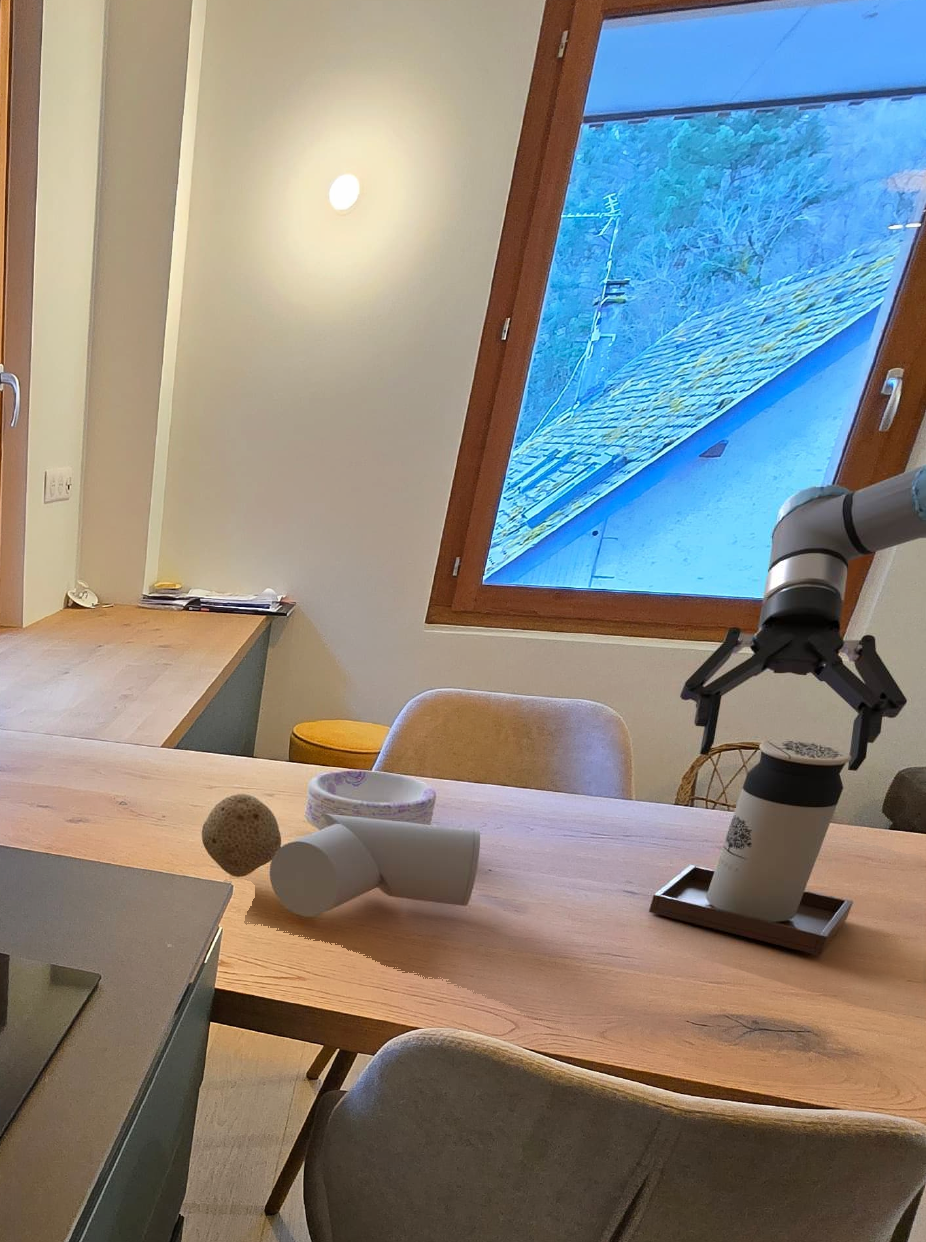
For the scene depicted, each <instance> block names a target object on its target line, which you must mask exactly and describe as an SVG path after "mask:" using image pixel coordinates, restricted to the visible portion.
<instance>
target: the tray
mask: <svg viewBox="0 0 926 1242" xmlns="http://www.w3.org/2000/svg"><path fill="white" fill-rule="evenodd" d="M714 872H715V869H710V868H707V867H702V866H697V865H692V864H690V865H688V866H687V867H686V868H685V869H684V870H682V871H681V872H680V873H678V875H676V876H675V877H674V878H672V879H671V880H669V882H668V883H666V884H665V885H664V886H663V887H661V888H660V889H659V890H658V891H657V892H656V893H654V894H653V896H652V899H651V902H650V906H649V910H648V913H651V914H655V915H658V916H662V917H666V918H671V919H675V920H678V921H682V922H687V923H690V924H694V925H698V926H703V927H706V928H710V929H714V930H717V931H722V932H726V933H730V934H734V935H738V936H741V937H746V938H749V939H753V940H757V941H761V942H765V943H769V944H772V945H777V946H780V947H784V948H789V949H792V950H796V951H800V952H804V953H808V954H812V955H815V956H821V955H822V954H823V952H824V951H825V949H826V948H827V947H828V946H829V944H830V943H831V941H832V940H833V939H834V937H835V936H836V934H838V931H839V930H840V929H841V927H842V926H843V924H844V923H845V922H846V921H847V919H848V917H849V914H850V911H851V909H852V906H853V904H854V901H853V900H851V899H845V898H841V897H837V896H833V895H827V894H824V893H820V892H819V893H818V892H815V891H811V890H805V891H804V893H803V896H802V898H801V901H800V904H799V906H798V909H797V912H796V914H795V917H794V918H792V919H790V920H787V921H779V922H771V921H767V920H763V919H758V918H754V917H750V916H746V915H742V914H738V913H734V912H730V911H726V910H721V909H717V908H715V907H714V906H713V905H711V904H710V903H709V902H708V901H707V899H706V896H707V893H708V890H709V887H710V884H711V881H712V878H713V875H714Z"/></svg>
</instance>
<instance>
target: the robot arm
mask: <svg viewBox="0 0 926 1242" xmlns="http://www.w3.org/2000/svg"><path fill="white" fill-rule="evenodd" d="M770 538H771V550H770V557H769V564H768V569H767V575H766V581H765V585H764V586H765V587H764V591H763V598H762V606H761V610H760V615H759V622H758V628H757V632H756V633H755V634H750V633H743V632H741V628H739V627H737V626H731V627H729V629H728V630H727V633H726V635H725V637H724V639H723V642H722V643H721V644H720V645H719V647H718V648H716V649H715V651H714V652H712V653H711V655H710V656H709V657H708V658H707V659H706V660H705V661H704V662H703V663H702V664H701V666H699V667H698V668H697V669H696V670H695V672H694V673H693V674H692V675H691V676H690V677H688V679H687V680H686V681H685V682H684V685H683V687H682V689H681V692H680V694H679V697H680V699H681V700H683V701H688V700H691V701H693V702H695V708H696V709H695V710H696V711H695V715H694V725H695V727H701V728H702V727H703V734H702V740H701V745H700V750H699V755H701V756H702V755H703V756H708V755H709V753H710V751H711V749H712V747H713V745H714V742H715V738H716V731H717V725H718V719H719V713H720V707H721V701H722V697H723V696H724V695H726V694H727V693H729V692H731V691H732V690H734V689H736V688H737V687H738V686H740V685H742V684H743V683H745V682H746V681H748V680H750V679H751V678H753V677H758V675H760V674H762V673H764V672H765V671H766V670H771V671H773V674H788V673H789V674H795V675H799V676H807V675H808V674H811V675H813V676H814V677H815V678H816V679H817V680H818V681H819V682H824V683H825V684H827V686H829V687H830V689H832V690H833V691H834V692H835V693H836V694H837V695H838V696H839V697H840V698H841V699H842V700H844V701H845V703H847V704H848V705H849V706H850V707H851V708H852V709H853V710H854V711H855V712H856V713H857V716H856V717H855V718H854V720H853V724H852V725H853V726H852V732H851V740H850V749H849V754H850V755H851V760H850V761H849V762H848V765H847V770H848V771H852V772H853V771H855V772H857V771H858V770H859V768H860V767H861V765H862V764H863V762H864V761H865V759H866V758H867V752H868V743H869V744H873V743H874V742H875V741H876V740H877V738H878V737H879V735H880V734H881V732H882V724H883V718H885V717H887V718H889V719H893V718H896V717H898V716H899V714H900V713H901V712H902V710H903V708H904V707H905V705H906V704H907V702H908V699H907V697H906V696H905V695H904V693H903V691H902V690H901V688H900V686H899V685H898V683H897V682H896V680H895V679H894V677H893V676H892V673H890V671H889V669H888V667H887V666H886V665H885V663H884V661H883V660H882V658H881V657H880V655H879V653H878V652H877V644H876V638H875V636H873V635H871V634H865V635H863V636H862V637H861V639H851V640H849V639H848V640H846V639H845V640H844V639H843V637H842V636H841V632H840V631H841V626H842V625H841V624H842V617H843V609H844V600H845V593H846V585H847V578H848V577H847V576H848V571H849V565H850V562H851V561H852V560H854V559H858V558H860V557H863V556H867V555H871V554H874V553H876V552H880V551H883V550H886V549H888V548H893V547H895V546H898V545H902V544H905V543H908V542H911V541H915V540H918V539H926V464H924V465H921V466H918V467H916V468H913V469H910V470H908V471H905V472H903V473H899V474H898V475H896V476H893V477H889V478H887V479H885V480H882V481H879V482H877V483H874V484H872V485H868V486H867V487H864V488H861V489H857V490H854V491H851V490H850V489H848V488H847V487H845V486H842V485H838V484H826V485H823V486H815V485H813V486H810V487H806V488H804V489H801V490H799V491H797V492H796V493H794V494H792V495H791V496H790V497H789V498H787V499H786V500H785V501H784V503H783V504H782V505H781V506H780V509H779V511H778V513H777V518H776V521H775V525H774V527H773V529H772V533H771V537H770ZM746 647H749V648H750V650H751V651H752V653H753V654H752V655H751V656H750V657H749V658H747V659H745V660H744V661H743V662H741V663H739V664H738V665H737V666H735V667H733V668H731V669H730V670H728V671H727V672H725V673H724V674H722V675H720V676H719V677H718V678H717V677H716V679H714V680H712V681H711V682H710V683H708V682H709V680H711V679H712V677H714V675H715V674H716V673H717V672H718V671H719V670H720V669H721V668H722V667H723V666H724V665H725V664H726V663H727V662H728V660H729V659H730V658H731V656H732V655H733V654H737V653H739V652H741V651H743V649H744V648H746ZM840 653H843V654H845V655H846V656H847V658H848V661H849V662H853V663H854V667H855V670H856V672H857V673H858V675H859V677H858V676H857V675H856V674H855V673H854V672H853V671H852V670H851V669H849V668H848V666H846V665H845V664H844V661H843V658H842V657H841V655H839V654H840ZM860 678H861V679H860ZM706 683H708V684H706ZM705 684H706V685H705Z"/></svg>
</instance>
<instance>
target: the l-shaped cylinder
mask: <svg viewBox="0 0 926 1242" xmlns="http://www.w3.org/2000/svg"><path fill="white" fill-rule="evenodd" d="M324 817H325V820H326V822H327V824H328V826H329V827H326V828H324V829H321V830H319V829H318V830H316V831H314V832H312V833H309V834H306V835H304V836H302V837H299V838H297V839H295V840H293V841H290V842H287V843H285V844H284V845H281V848H280V849H278V851H277V852H276V853H275V855H274V856H273V859H272V860H271V861H270V867H269V879H270V884H271V887H272V891H273V893H274V894H275V896H276V898H277V899H278V901H279V902H280V903H281V904H282V905H283V906H284V907H285V908H286V909H288V910H289V911H290V912H292V913H294V914H296V915H298V916H302V917H310V918H311V917H313V918H314V917H318V916H321V915H323V914H326V913H327V912H329V911H331V910H333V909H335V908H337V907H339V906H342V905H343V904H345V903H347V902H349V901H351V900H354V899H356V898H357V897H360V896H362V895H364V894H366V893H368V892H370V891H372V890H374V889H375V888H376V889H377V888H378V890H380V891H381V892H382V893H384V894H386V896H388V897H392V898H400V899H408V900H414V901H423V902H431V903H439V904H445V905H446V904H447V905H454V906H455V905H456V906H460V907H461V906H462V907H467V906H468V904H469V902H470V900H471V896H472V893H473V889H474V885H475V881H476V876H477V872H478V865H479V858H480V847H481V832H480V830H479V829H470V828H463V827H453V826H443V825H435V824H431V825H426V824H416V823H407V822H398V821H388V820H379V819H369V818H360V817H351V816H341V815H332V814H324Z"/></svg>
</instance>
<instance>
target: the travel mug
mask: <svg viewBox="0 0 926 1242" xmlns="http://www.w3.org/2000/svg"><path fill="white" fill-rule="evenodd" d="M758 748H759V750H760V757H759V761H758V763H756V764H755V765H754V766H753V767H752V768H751V769H750V770H749V771H748V772H747V774H746V777H745V779H744V781H743V785H742V789H741V791H740V794H739V797H738V800H737V803H736V806H735V809H734V812H733V815H732V818H731V822H730V824H729V827H728V830H727V834H726V835H725V839H724V843H723V845H722V848H721V851H720V854H719V857H718V860H717V862H716V866H715V869H714V870H715V872H714V875H713V878H712V881H711V884H710V887H709V890H708V893H707V896H706V899H707V901H708V902H709V903H710V904H711V905H713V906H714V907H715V908H717V909H721V910H726V911H730V912H734V913H738V914H742V915H746V916H750V917H754V918H758V919H763V920H767V921H771V922H779V921H787V920H790V919H792V918H794V917H795V914H796V912H797V909H798V906H799V904H800V901H801V898H802V896H803V893H804V891H806V888H807V885H808V883H809V880H810V877H811V875H812V872H813V869H814V866H815V864H816V861H817V858H818V856H819V853H820V851H821V848H822V846H823V842H824V841H825V838H826V835H827V832H828V829H829V827H830V824H831V821H832V819H833V817H834V814H835V811H836V809H837V806H838V803H839V800H840V798H841V795H842V793H843V790H844V785H843V781H842V777H841V775H840V774H841V772H842V770H843V769H844V767H845V765H846V764H847V763H849V761H850V760H851V755H850V752H847V751H846V750H844V749H841V748H839V747H836V746H832V745H828V744H823V743H819V742H814V741H807V740H806V741H805V740H797V739H771V740H766V741H763V742H761V743H760V744H759V747H758Z"/></svg>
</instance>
